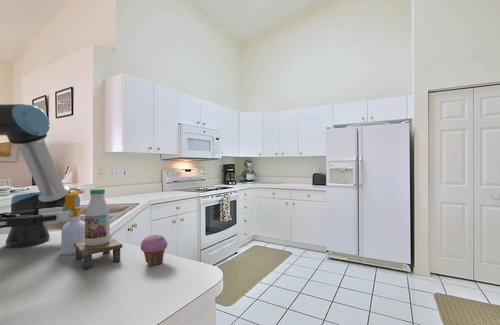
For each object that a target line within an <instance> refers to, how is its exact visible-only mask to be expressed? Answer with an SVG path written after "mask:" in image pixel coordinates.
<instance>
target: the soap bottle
mask: <svg viewBox="0 0 500 325" xmlns="http://www.w3.org/2000/svg"><path fill="white" fill-rule="evenodd" d="M70 192H71V193H69V194H67V195H66V196H65V209H71V211H72V212H73V215H70V218H69V220H68V222H66V223H65V224H64V225H62V228H61V238H60V239H61V247H60V248H61V250H60V251H61V254H62V255H65V256H69V255H76V248H75V246H74V243H75V242H80V241H85V220H81V214H79V211H80V210H81V209H84V206H79V207H75V197H76V195H80V194H81V193H83V191H82V190H72V191H70Z"/></svg>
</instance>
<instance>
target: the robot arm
mask: <svg viewBox="0 0 500 325" xmlns="http://www.w3.org/2000/svg"><path fill="white" fill-rule="evenodd" d="M50 123H51V122H50V119H49V117H48V116H47V114H46V113H45V111H44V110H43V109H42V108H40V107H38V106H36V105H32V104H24V103H18V104H16V103H15V104H13V103H12V104H11V103H10V104H0V136H6V137H7V139H8V141H9V143H10V144H12V145H14V146H16V147H17V148H18V150H19V152H20V155H21V156H22V158H23V161H24V163H25V164H26V166H27V168H28V170H29V173H30V174H31V176H32V178H33V181H34V184H36V187H37V189H38V191H34V192H25V193H20V194H15V195H13V196H12V197H11V201H10V202H11V203H10V212H1V213H0V229H4V228H10V230H9V233H8V235H7V237H6V240H5V247H6V248H22V247H24V248H25V247H29V246H35V245H36V246H37V245H38V244H43V243H46V242H48V241H50V233H49V230H48V228H47V225H46V224H47V223H57V222H63V221H70V215H73V212H72V211H71V209H65V196H66V195H67V194H69V193H71V192H72V191H71V190H70V188H69V187H68V186H66V185H64V183H63V181H62V178H61V177H60V174H59V172H58V170H57V167H56V164H55V163H54V159H53V158H52V155H51V152H50V150H49V148H48V145H47V144H46V141H45V139H46V138H47V137H48V134H47V133H48V132H49V130H50V128H51V127H50ZM79 195H80V194H78V195H76V197H75V207H81V206H80V205H81V199H80V196H79Z"/></svg>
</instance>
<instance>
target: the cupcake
mask: <svg viewBox="0 0 500 325" xmlns="http://www.w3.org/2000/svg"><path fill="white" fill-rule="evenodd" d="M167 247H168V240H166V238H165V237H164V236H163V235H162V234H152V235H149V236H146V237H145V238H143V239H142V241H141V243H140V250H141V252H142V253H143V255H144V260H145V263H146V264H147V265H148V266H151V267H152V266H156V265H160V264H162V263H163V262H164V255H165V250H166V249H167Z"/></svg>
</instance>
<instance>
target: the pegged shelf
mask: <svg viewBox="0 0 500 325" xmlns="http://www.w3.org/2000/svg"><path fill="white" fill-rule="evenodd" d="M74 246H75V248H76V254H75V260H76V261H78V260H82V264H83V266H82V269H83V270H85V271H88V270H91V269H92V266H93V264H92V263H93V262H92V261H93V259H92V258H93V257H92V256H93V255H95V254H99V253H102V254H104V255H105V254H110V253H111V251H112V262H113V263H119V262H120V261H121V249H123V243H121V242H120V241H118V240H117V239H116V238H113V237H112V236H110V240H109V242H108V243H106V244H103V245H98V246H86V245H85V241H80V242H75V243H74Z"/></svg>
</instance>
